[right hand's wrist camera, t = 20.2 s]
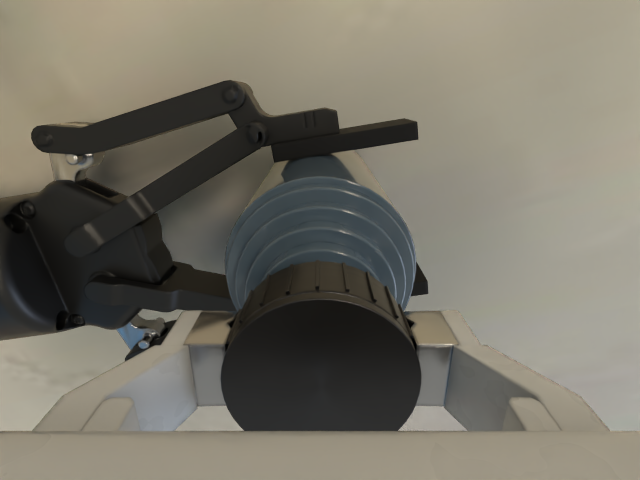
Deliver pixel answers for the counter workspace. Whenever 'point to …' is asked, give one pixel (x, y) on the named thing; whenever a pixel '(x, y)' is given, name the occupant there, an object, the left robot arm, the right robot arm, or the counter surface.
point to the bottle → (320, 226)
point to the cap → (320, 354)
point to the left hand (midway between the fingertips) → (415, 207)
